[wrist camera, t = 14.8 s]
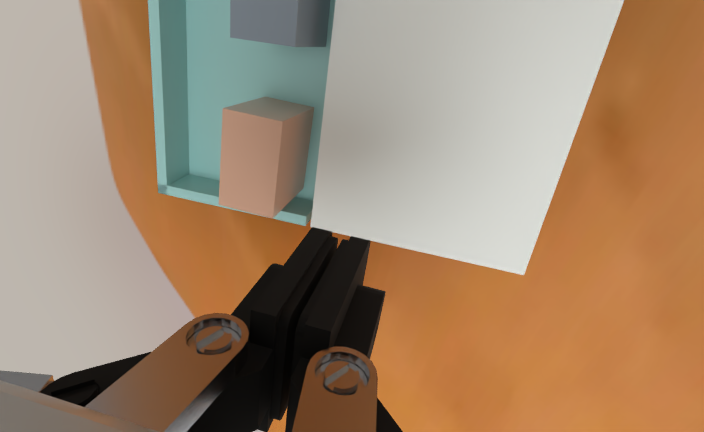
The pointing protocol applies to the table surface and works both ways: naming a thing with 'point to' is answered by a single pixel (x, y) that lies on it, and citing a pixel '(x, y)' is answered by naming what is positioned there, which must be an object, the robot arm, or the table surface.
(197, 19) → the tray
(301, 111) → the salmon pink box
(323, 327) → the robot arm
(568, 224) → the table surface
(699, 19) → the table surface
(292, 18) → the grey block
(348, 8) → the white flat block
